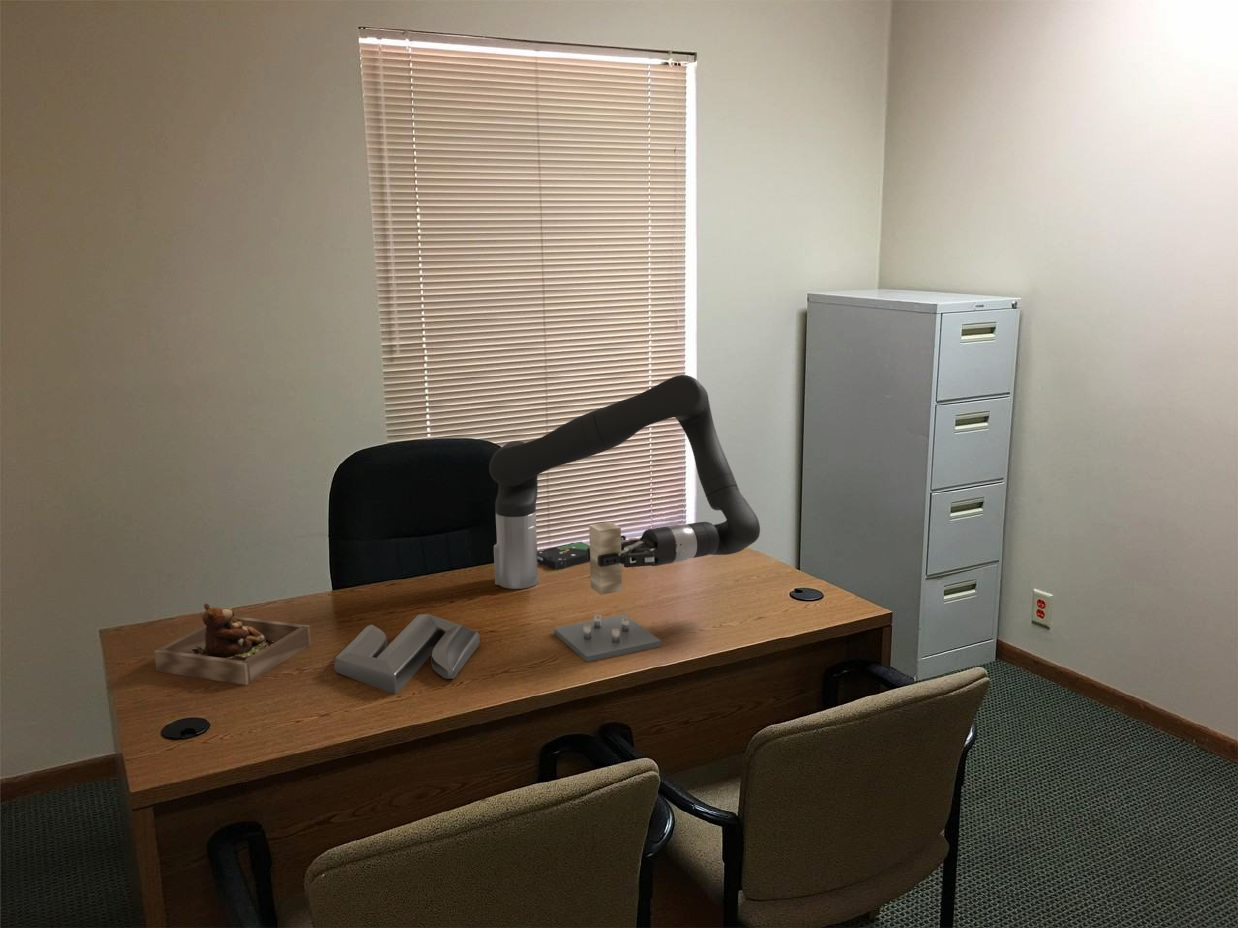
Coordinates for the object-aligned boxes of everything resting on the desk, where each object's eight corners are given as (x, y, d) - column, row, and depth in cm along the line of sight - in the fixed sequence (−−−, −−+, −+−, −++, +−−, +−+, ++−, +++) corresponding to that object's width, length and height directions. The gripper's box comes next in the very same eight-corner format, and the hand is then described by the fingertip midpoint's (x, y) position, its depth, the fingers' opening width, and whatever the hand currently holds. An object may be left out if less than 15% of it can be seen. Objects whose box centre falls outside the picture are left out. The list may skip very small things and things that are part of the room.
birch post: (600, 594, 194) (599, 530, 191) (590, 587, 198) (589, 525, 195) (621, 590, 196) (620, 527, 193) (611, 583, 200) (610, 521, 197)
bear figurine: (279, 662, 191) (273, 602, 188) (195, 680, 184) (188, 617, 181) (264, 638, 203) (258, 581, 200) (184, 654, 195) (178, 595, 192)
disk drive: (556, 572, 241) (604, 559, 250) (556, 562, 241) (604, 549, 250) (532, 562, 249) (580, 550, 258) (532, 552, 248) (579, 539, 258)
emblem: (499, 649, 183) (344, 677, 172) (500, 676, 184) (346, 705, 173) (461, 600, 208) (323, 622, 197) (462, 624, 209) (325, 647, 198)
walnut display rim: (156, 671, 187) (154, 651, 186) (227, 632, 205) (225, 614, 204) (246, 685, 181) (244, 664, 180) (311, 644, 199) (309, 625, 198)
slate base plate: (586, 662, 189) (586, 644, 188) (554, 633, 203) (553, 616, 202) (661, 646, 195) (660, 628, 195) (624, 619, 209) (624, 602, 209)
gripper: (652, 518, 207) (577, 530, 199) (687, 535, 194) (608, 549, 187) (652, 552, 208) (578, 565, 201) (687, 572, 196) (609, 586, 188)
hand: (593, 557), depth 194 cm, fingers closed on birch post, 4 cm apart
